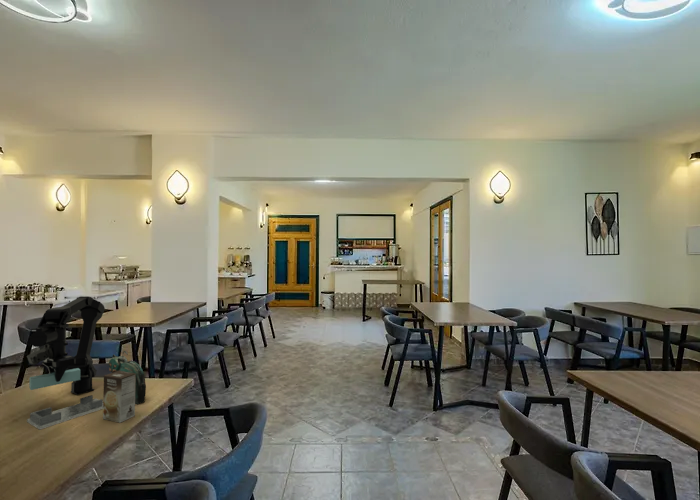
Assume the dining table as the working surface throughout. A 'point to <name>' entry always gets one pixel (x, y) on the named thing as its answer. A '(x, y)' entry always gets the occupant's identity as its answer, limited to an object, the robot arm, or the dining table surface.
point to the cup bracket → (64, 413)
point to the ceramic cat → (132, 367)
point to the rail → (53, 379)
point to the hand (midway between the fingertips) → (55, 380)
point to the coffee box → (119, 396)
